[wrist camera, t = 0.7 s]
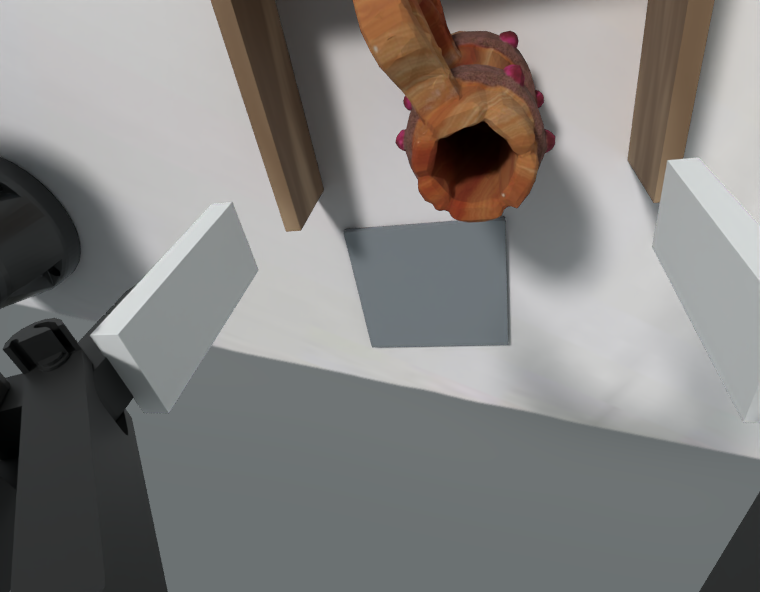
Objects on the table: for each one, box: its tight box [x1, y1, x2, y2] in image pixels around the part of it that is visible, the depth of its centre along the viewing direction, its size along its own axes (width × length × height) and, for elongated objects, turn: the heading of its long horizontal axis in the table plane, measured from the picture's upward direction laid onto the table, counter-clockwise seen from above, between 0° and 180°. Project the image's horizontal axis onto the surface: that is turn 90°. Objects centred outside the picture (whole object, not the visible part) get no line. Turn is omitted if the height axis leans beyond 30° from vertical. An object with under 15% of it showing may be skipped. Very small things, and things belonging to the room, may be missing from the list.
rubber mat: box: [344, 217, 508, 347], centre depth 46 cm, size 14×14×1 cm
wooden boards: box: [211, 0, 714, 232], centre depth 31 cm, size 26×19×7 cm
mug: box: [353, 0, 555, 222], centre depth 28 cm, size 15×8×15 cm, turn 34°
